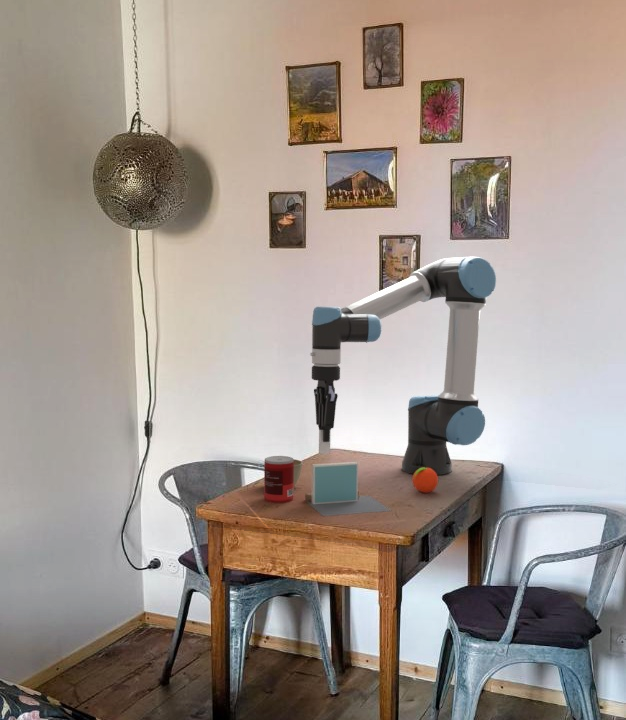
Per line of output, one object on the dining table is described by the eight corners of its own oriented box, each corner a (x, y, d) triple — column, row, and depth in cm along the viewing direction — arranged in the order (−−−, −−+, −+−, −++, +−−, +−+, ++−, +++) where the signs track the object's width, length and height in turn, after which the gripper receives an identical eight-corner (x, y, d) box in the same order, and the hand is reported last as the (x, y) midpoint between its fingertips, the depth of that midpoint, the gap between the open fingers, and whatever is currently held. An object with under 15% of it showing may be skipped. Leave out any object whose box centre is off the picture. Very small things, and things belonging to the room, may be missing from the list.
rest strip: (355, 497, 219) (355, 489, 219) (358, 499, 217) (358, 491, 217) (305, 500, 215) (305, 493, 215) (307, 502, 213) (307, 495, 213)
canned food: (291, 495, 222) (291, 455, 221) (295, 503, 214) (295, 461, 213) (262, 496, 220) (262, 456, 219) (266, 504, 212) (266, 462, 212)
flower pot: (268, 483, 236) (267, 458, 235) (303, 483, 236) (303, 458, 235) (264, 491, 226) (264, 465, 226) (301, 492, 226) (301, 466, 225)
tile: (355, 499, 217) (355, 461, 216) (357, 501, 215) (358, 463, 214) (311, 502, 213) (311, 464, 212) (313, 504, 212) (313, 465, 211)
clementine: (423, 497, 221) (424, 471, 220) (404, 492, 226) (404, 466, 225) (443, 492, 226) (443, 467, 226) (423, 488, 231) (424, 463, 231)
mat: (368, 496, 221) (368, 495, 221) (392, 511, 206) (392, 510, 206) (304, 501, 216) (304, 500, 216) (323, 517, 201) (323, 516, 201)
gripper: (305, 363, 224) (303, 449, 226) (319, 367, 212) (318, 458, 213) (331, 362, 226) (329, 448, 228) (347, 367, 214) (345, 457, 216)
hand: (324, 453), depth 221 cm, fingers closed
